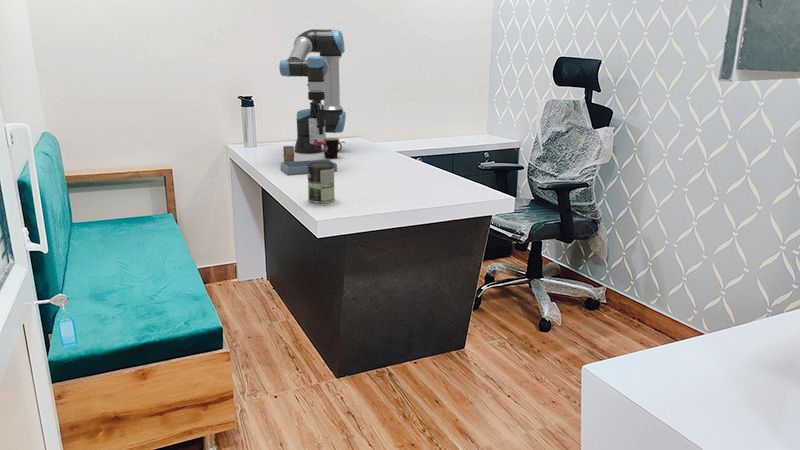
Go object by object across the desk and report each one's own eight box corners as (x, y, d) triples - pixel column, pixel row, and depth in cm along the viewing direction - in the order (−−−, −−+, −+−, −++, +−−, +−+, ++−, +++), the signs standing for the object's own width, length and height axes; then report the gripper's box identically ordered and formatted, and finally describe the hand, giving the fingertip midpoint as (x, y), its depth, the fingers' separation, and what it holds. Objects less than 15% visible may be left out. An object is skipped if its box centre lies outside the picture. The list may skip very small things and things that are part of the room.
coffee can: (307, 203, 226) (306, 167, 222) (309, 196, 236) (308, 161, 231) (334, 203, 227) (334, 167, 222) (335, 196, 236) (334, 161, 232)
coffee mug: (320, 156, 317) (320, 138, 314) (336, 155, 320) (336, 137, 317) (327, 160, 307) (326, 141, 304) (343, 159, 310) (342, 140, 307)
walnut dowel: (283, 164, 297) (282, 146, 294) (293, 163, 299) (292, 145, 296) (285, 166, 293) (284, 147, 290) (295, 165, 295) (294, 147, 292)
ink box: (326, 145, 279) (326, 119, 276) (316, 145, 276) (316, 120, 273) (318, 142, 286) (317, 117, 282) (308, 143, 283) (308, 118, 280)
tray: (280, 169, 284) (280, 162, 283) (328, 166, 294) (328, 159, 292) (287, 175, 272) (287, 167, 271) (336, 171, 282) (336, 164, 281)
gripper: (302, 89, 282) (303, 137, 289) (315, 93, 263) (316, 143, 270) (317, 89, 285) (318, 136, 291) (331, 92, 266) (332, 143, 272)
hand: (317, 139), depth 281 cm, fingers closed on ink box, 9 cm apart
